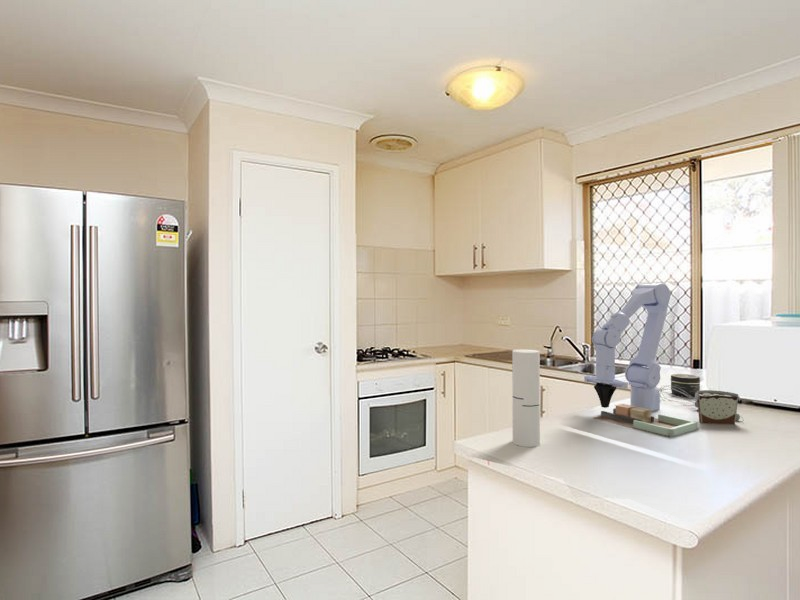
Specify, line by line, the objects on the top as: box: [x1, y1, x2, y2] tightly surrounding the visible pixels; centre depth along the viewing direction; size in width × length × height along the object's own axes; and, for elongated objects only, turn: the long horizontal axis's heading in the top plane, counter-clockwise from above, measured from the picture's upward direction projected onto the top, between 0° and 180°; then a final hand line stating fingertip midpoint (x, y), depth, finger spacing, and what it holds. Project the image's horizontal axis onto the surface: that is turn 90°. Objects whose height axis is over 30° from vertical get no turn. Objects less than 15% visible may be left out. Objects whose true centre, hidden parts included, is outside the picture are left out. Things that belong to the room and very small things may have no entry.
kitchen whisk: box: [658, 384, 744, 423], centre depth 161 cm, size 6×34×6 cm, turn 13°
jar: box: [670, 373, 701, 398], centre depth 184 cm, size 10×10×8 cm
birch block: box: [631, 407, 652, 423], centre depth 142 cm, size 4×4×4 cm
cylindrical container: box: [511, 348, 541, 448], centre depth 126 cm, size 7×7×25 cm
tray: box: [633, 413, 699, 438], centre depth 135 cm, size 14×11×2 cm
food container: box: [693, 389, 741, 425], centre depth 143 cm, size 12×6×10 cm, turn 84°
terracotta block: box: [615, 403, 635, 417], centre depth 146 cm, size 4×4×4 cm
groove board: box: [593, 407, 700, 439], centre depth 141 cm, size 16×24×2 cm, turn 31°
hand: (605, 407), depth 152 cm, fingers closed
